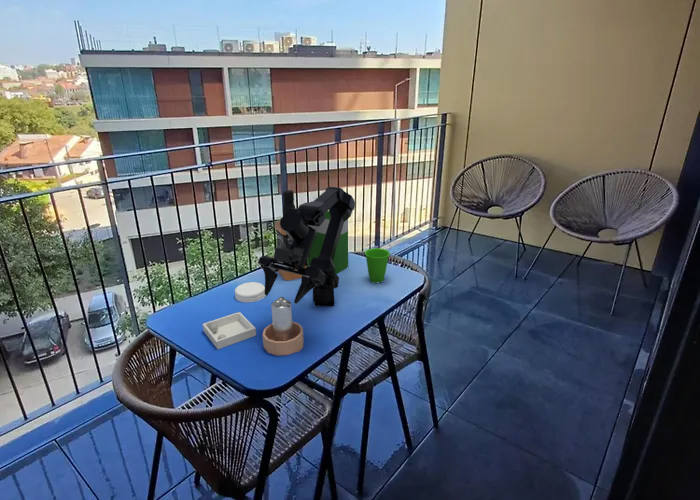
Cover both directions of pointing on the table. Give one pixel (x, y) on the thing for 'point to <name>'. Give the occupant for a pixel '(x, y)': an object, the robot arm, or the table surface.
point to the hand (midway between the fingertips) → (280, 299)
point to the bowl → (283, 346)
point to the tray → (230, 330)
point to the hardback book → (342, 247)
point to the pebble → (213, 328)
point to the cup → (377, 263)
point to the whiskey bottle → (283, 236)
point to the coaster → (250, 292)
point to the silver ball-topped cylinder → (282, 319)
